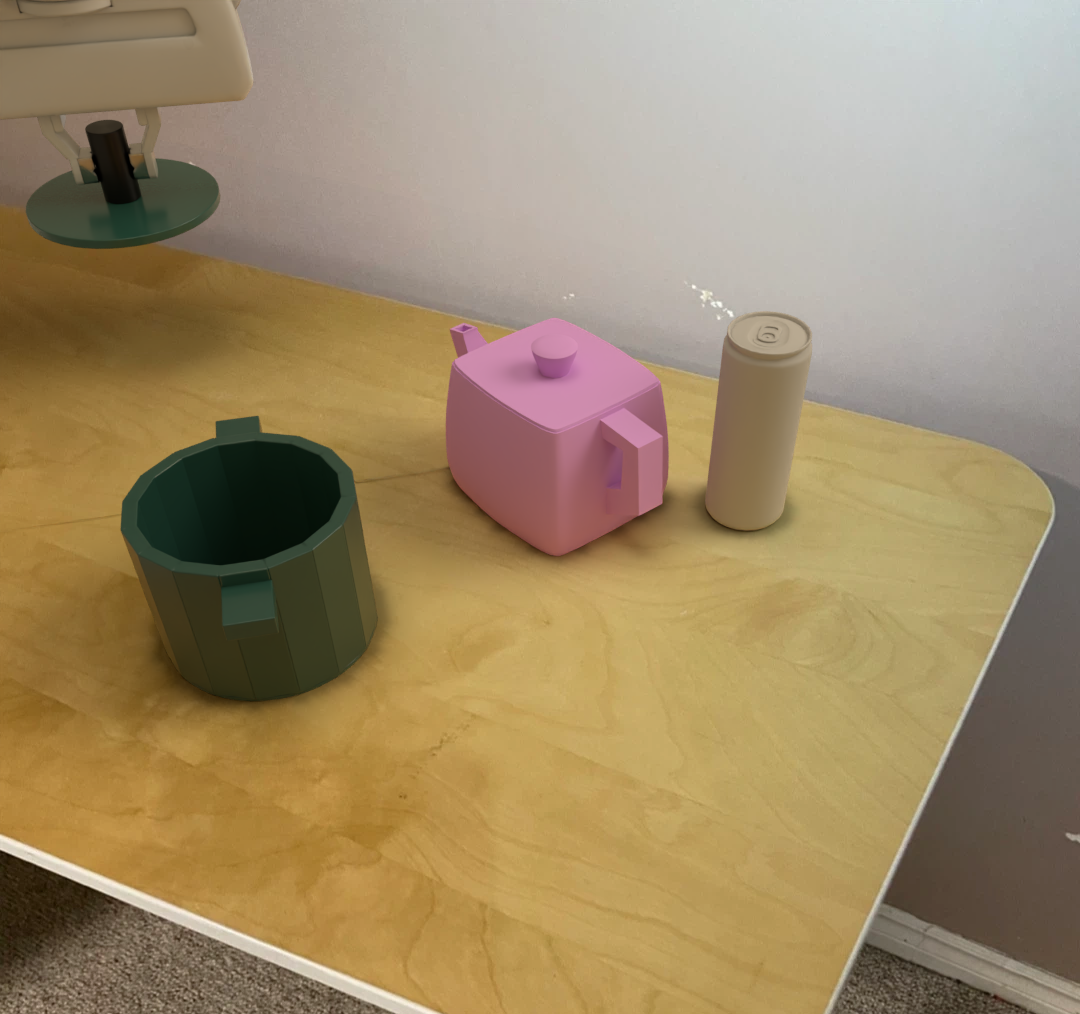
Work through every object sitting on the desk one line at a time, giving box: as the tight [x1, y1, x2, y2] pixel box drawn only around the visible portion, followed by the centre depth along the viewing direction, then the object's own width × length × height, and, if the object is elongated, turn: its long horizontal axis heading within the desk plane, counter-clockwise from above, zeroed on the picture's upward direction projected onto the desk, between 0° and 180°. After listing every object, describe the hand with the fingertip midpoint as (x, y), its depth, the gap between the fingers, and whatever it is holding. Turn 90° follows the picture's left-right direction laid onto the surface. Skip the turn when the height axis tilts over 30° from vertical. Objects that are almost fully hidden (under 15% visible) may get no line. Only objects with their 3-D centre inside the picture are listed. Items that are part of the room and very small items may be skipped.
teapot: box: [445, 317, 670, 557], centre depth 67 cm, size 18×10×10 cm, turn 39°
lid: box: [25, 119, 221, 250], centre depth 75 cm, size 13×13×6 cm
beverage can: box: [704, 310, 813, 532], centre depth 65 cm, size 5×5×12 cm
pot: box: [119, 415, 379, 702], centre depth 59 cm, size 12×17×9 cm
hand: (117, 178), depth 75 cm, fingers closed on lid, 2 cm apart
